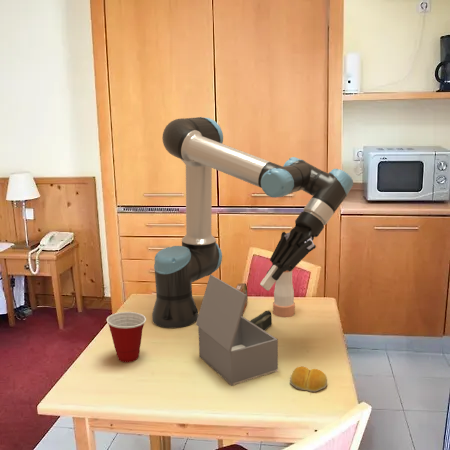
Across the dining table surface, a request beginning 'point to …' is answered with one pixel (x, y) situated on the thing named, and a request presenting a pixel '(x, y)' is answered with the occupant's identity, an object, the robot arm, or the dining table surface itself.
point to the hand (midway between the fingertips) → (264, 287)
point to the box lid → (221, 311)
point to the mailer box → (241, 353)
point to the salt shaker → (284, 296)
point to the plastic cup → (126, 334)
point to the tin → (243, 289)
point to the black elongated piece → (263, 320)
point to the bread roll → (308, 379)
